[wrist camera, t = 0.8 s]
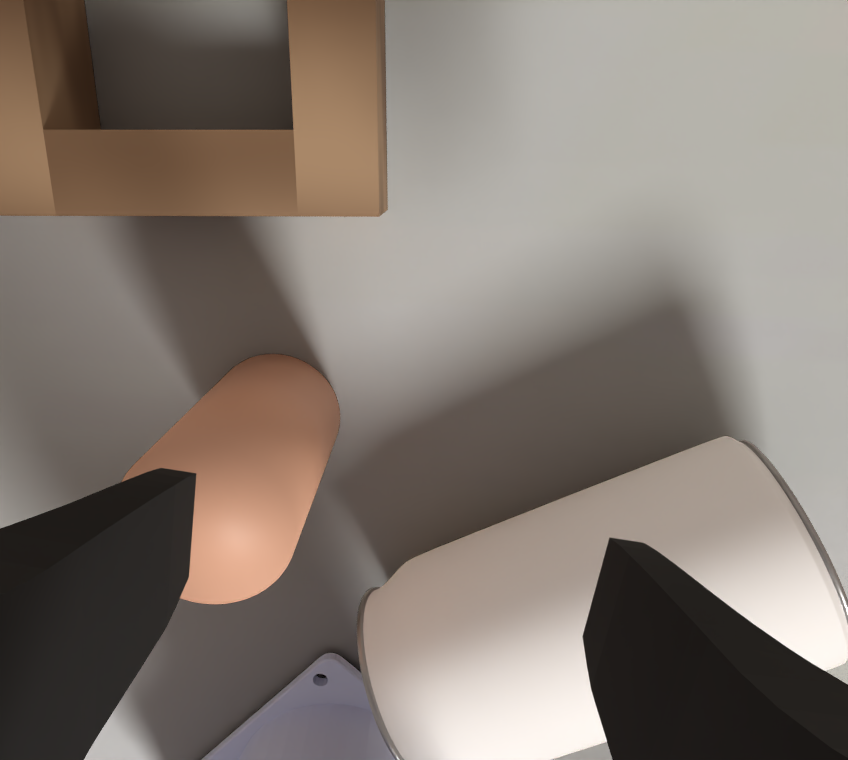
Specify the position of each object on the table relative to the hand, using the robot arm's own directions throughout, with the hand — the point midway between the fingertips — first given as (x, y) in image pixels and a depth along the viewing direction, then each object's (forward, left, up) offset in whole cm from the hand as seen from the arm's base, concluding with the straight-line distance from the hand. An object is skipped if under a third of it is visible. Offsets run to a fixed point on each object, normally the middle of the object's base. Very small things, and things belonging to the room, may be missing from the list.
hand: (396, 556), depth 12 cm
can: (+5, -10, -6) cm, 13 cm away
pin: (-4, +2, -10) cm, 11 cm away
